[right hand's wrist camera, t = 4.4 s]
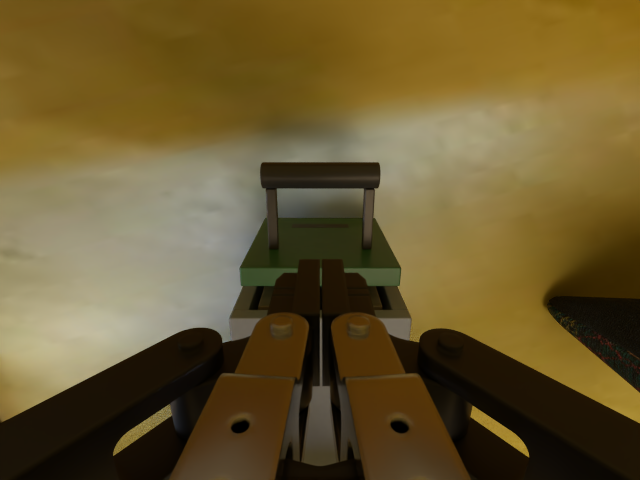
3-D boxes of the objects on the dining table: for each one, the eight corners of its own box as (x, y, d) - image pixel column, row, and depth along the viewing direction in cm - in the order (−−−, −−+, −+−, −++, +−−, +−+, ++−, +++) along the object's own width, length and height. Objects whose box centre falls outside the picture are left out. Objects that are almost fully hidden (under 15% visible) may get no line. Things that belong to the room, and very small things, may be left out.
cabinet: (261, 243, 31) (228, 318, 20) (378, 243, 31) (411, 318, 20) (271, 395, 37) (249, 518, 26) (369, 395, 37) (390, 518, 26)
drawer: (261, 150, 27) (230, 170, 18) (379, 150, 27) (410, 170, 18) (273, 371, 34) (256, 468, 25) (366, 371, 34) (383, 468, 25)
